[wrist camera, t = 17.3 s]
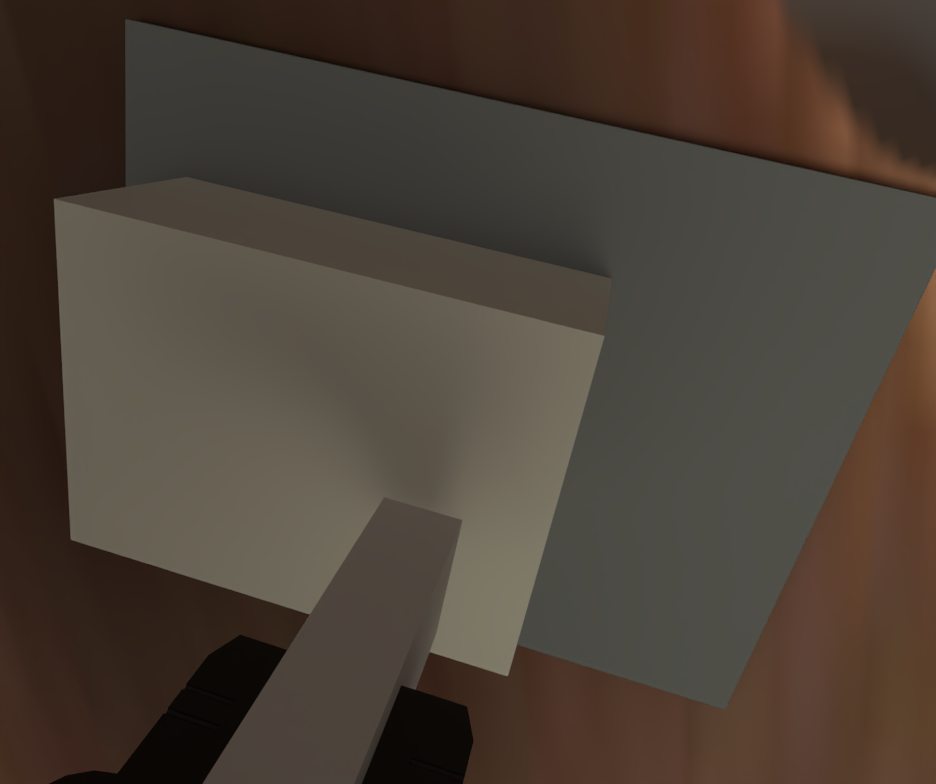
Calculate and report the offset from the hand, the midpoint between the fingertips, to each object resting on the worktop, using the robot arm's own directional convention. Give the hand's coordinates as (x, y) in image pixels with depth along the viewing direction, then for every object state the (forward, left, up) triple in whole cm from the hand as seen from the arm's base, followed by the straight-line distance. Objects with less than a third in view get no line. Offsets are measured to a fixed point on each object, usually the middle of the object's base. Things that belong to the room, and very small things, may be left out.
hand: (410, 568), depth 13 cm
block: (+2, 0, -5) cm, 6 cm away
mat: (-1, 0, -8) cm, 8 cm away
